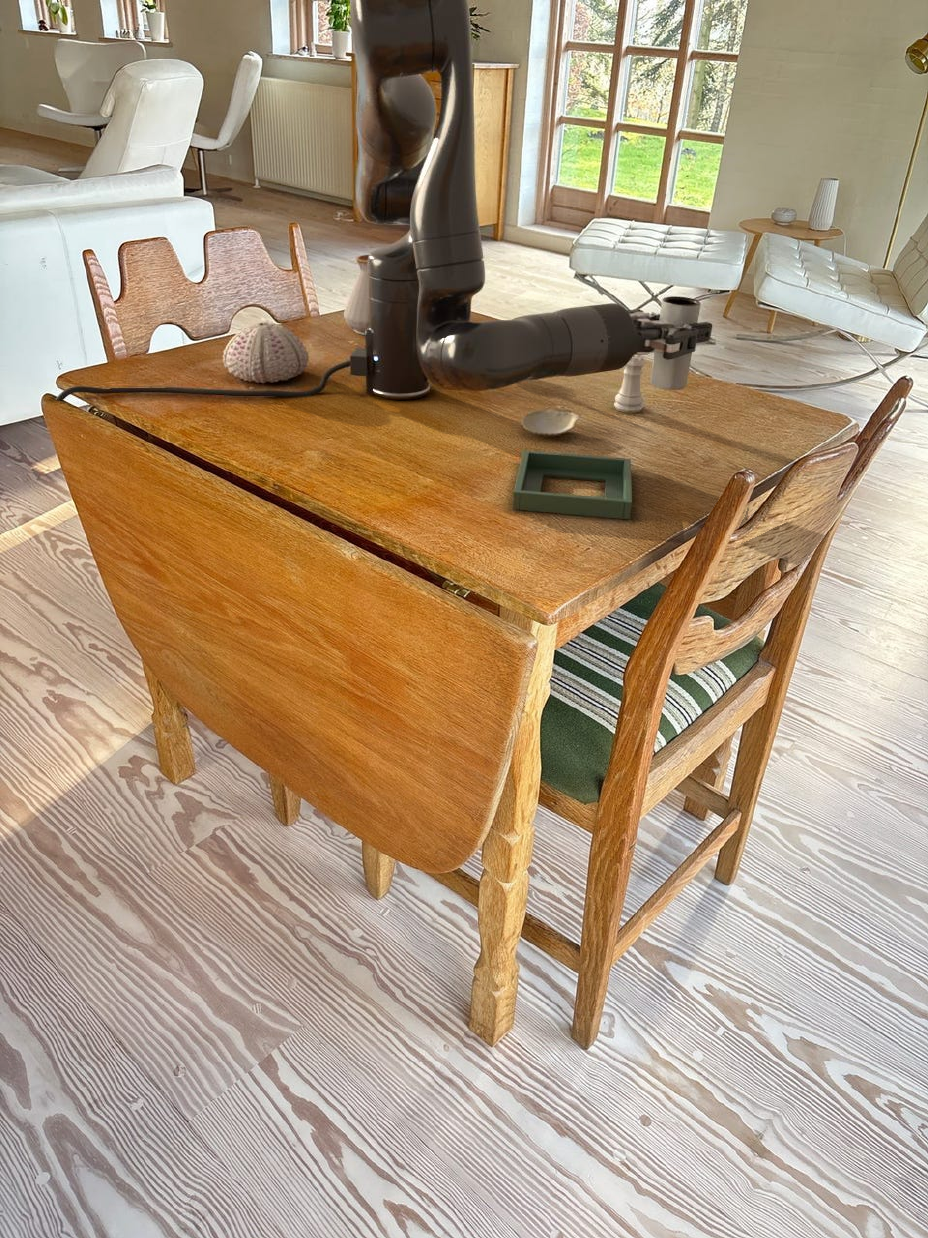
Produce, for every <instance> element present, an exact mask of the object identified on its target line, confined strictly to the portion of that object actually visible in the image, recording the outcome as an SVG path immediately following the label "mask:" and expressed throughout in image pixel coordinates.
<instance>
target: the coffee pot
mask: <svg viewBox="0 0 928 1238" xmlns="http://www.w3.org/2000/svg"><path fill="white" fill-rule="evenodd" d="M369 255H370V254H362V255H358V256H356V257H355V261H356V262H357V264H358V267H359V271H358V272H359V273H358V274H357V278H356V280H355V283H354V285H353V287H352V289H351V293H350V296H349V298H348V301H347V303H346V306H345V309H344V311H343V317H344V320H345V323H346V324H347V325H348V326H349V327H350V328H352V329H353V331H354V332H355V333H356V334H359V335H363V336H365V332H366V330H367V329H368V328H369V312H368V256H369Z"/></svg>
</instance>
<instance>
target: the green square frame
mask: <svg viewBox="0 0 928 1238" xmlns="http://www.w3.org/2000/svg"><path fill="white" fill-rule="evenodd" d="M544 477H546V478H557V479H570V480H581V481H582V480H583V481H593V482H604V484H605V487H604V497H602V496H593V495H592V496H591V495H582V494H581V495H579V494H568V493H556V492H547V491H542V485H543V480H544ZM632 488H633V487H632V461H631V458H624V457H615V456H614V457H611V456H599V455H590V454H589V455H588V454H577V453H565V452H564V453H563V452H551V451H541V450H529V449H528V450H527V449H523V450H522V455H521V459H520V463H519V467H518V471H517V475H516V480H515V485H514V489H513V495H512V496H513V497H512V510H516V511H529V512H539V513H541V512H542V513H549V514H561V515H562V514H563V515H574V516H585V517H596V518H607V519H608V518H609V519H617V520H629V521H630V520H631V513H632V507H633V490H632Z"/></svg>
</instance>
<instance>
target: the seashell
mask: <svg viewBox="0 0 928 1238" xmlns="http://www.w3.org/2000/svg"><path fill="white" fill-rule="evenodd" d="M580 418H581V415H580V414H579V413H576V412H574V411H571V410H570V409H567V408H565V407H560V408H556V409H538V410H532V411H530V412H528V413H526V414H524V415H523V416H522V418H521V420H520V424H521V427H523V429H525V430H526V431H527V432H529V433H531V434H534V435H537V436H540V437H541V436H543V437H558V436H561V435H564V434H566V433H568V432H569V431H571V430H573V428H574V426H575V424H576V422H577V421H578V420H580Z"/></svg>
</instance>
